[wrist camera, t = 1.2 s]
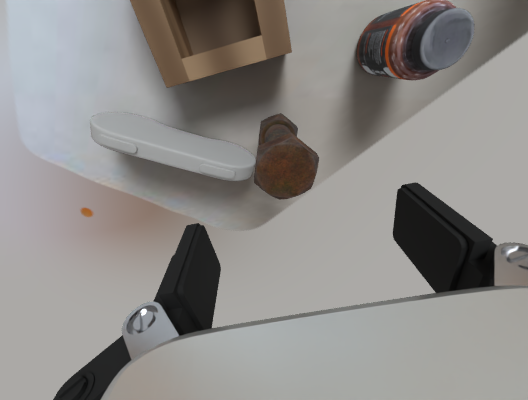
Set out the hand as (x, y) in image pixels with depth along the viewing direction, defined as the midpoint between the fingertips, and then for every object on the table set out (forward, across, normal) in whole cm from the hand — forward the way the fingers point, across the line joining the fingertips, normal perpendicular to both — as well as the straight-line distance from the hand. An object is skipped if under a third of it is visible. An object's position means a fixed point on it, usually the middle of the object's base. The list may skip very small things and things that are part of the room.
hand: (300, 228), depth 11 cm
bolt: (+24, 0, +1) cm, 24 cm away
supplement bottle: (+24, -14, -6) cm, 28 cm away
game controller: (+24, +12, 0) cm, 27 cm away
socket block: (+24, +4, -13) cm, 27 cm away
